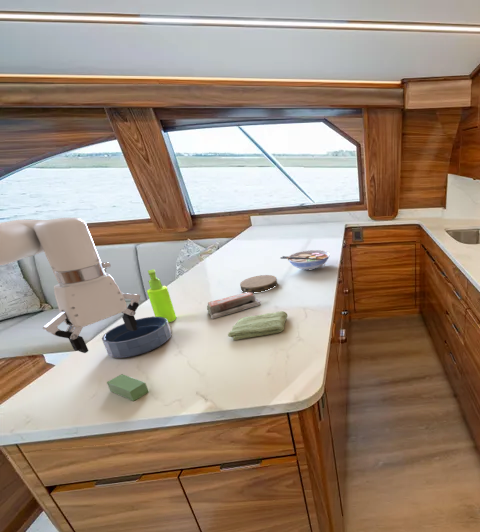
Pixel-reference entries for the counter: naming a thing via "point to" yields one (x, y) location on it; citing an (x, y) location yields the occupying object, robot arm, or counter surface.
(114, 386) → the green bar
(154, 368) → the counter surface
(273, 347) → the counter surface
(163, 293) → the soap dispenser
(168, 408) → the counter surface
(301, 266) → the ramen bowl
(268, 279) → the brown round disc
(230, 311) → the packaged product
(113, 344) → the bowl
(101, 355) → the counter surface
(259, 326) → the washcloth
